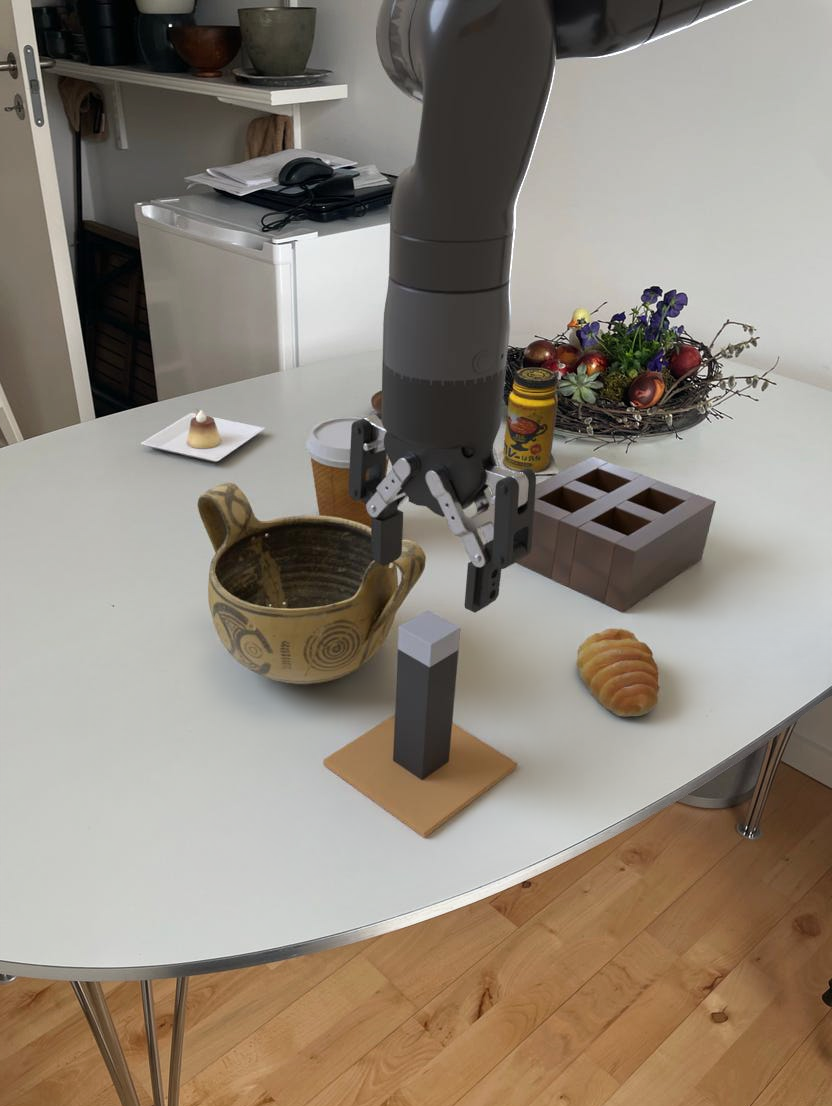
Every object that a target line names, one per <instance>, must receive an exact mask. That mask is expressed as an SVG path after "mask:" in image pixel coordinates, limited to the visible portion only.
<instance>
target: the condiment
mask: <svg viewBox="0 0 832 1106" xmlns="http://www.w3.org/2000/svg"><path fill="white" fill-rule="evenodd" d="M557 384H558V375H557V373H556V372H555V371H554V370H551V369H548V368H544V367H537V366H535V367H534V366H533V367H532V366H531V367H523V368H521V369H519V370H517V371H516V372H515V373H514V376H513V384H512V389H513V390H512V391H511V392H510V394H509V396H508V405H507V415H506V419H505V420H506V425H505V432H504V440H503V446H500V445H497V446H494V445H493V449H494V451H495V454H496V458H497V461H498V465H499V467H500V468H503V469H506V470H509V471H512V472H518V471H520V470H522V469H524V468H529V469H531V470H532V471H533V472H534V473H535V475H548V474H549V475H557V474H559V473H561V471H559V468H558V466H557V463H556V461H555V458H554V456H553V453H552V451H553V444H554V435H555V429H556V428H555V427H556V420H557V412H558V405H559V404H558V403H559V397H558V395H557V393H556V392H557V390H558V386H557Z"/></svg>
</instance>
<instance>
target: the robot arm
mask: <svg viewBox="0 0 832 1106" xmlns="http://www.w3.org/2000/svg"><path fill="white" fill-rule="evenodd" d="M750 1H752V0H382V1H381V4H380V7H379V10H378V15H377V19H376V27H375V40H376V41H375V43H376V48H377V53H378V57H379V60H380V63H381V66H382V68H383V70H384V72H385V74H386V75H387V77H388V79H389V80H390V81H391V82H392V84H393V85H394V86H395V87H396V88H397V89H398V90H399V91H401V92H402V93H403V94H404V95H406V96H407V97H408V98H410V99H411V100H414V101H415V102H417V103H419V104H422V106H421V107H422V109H421V117H420V124H419V131H418V132H419V133H418V139H417V147H416V154H415V161H414V164H411V165H410V166H408V167H407V168H405V169H404V170H403V171H402V172H401V173H400V174H399V175H398V177H397V178H396V180H395V182H394V186H393V190H392V195H391V201H390V202H391V203H390V212H389V249H388V250H389V252H388V253H389V254H388V257H389V258H388V279H387V280H388V281H387V291H386V295H385V296H386V297H385V303H384V309H383V319H382V320H383V321H382V367H381V370H382V371H381V372H382V373H381V391H382V407H381V412H379V413H378V412H376V413H373V414H371V415H368V416H365V417H361V418H362V419H361V420H358V421H355V422H353V424H352V427H351V447H350V468H349V488H348V491H349V495H350V497H351V498H352V499H353V500H354V501H358V500H361V501H363V502H364V503H365V504H366V509H367V512H368V514H369V515H370V516H371V533H372V534H371V538H372V539H371V548H372V551H373V553H374V561H375V562H376V563H378V564H380V565H382V566H385V565H387V564H389V563H391V562H393V561H395V560H397V559H398V558H399V557H400V556H401V553H402V540H403V532H404V531H403V529H404V511H403V510H400V509H399V507H401V505H403V504H404V503H405V501H406V500H407V499H408V502H409V503H411V504H413V505H416V506H421V507H425V508H427V509H428V510H429V511H431V512H432V513H434V514H435V515H437V516H440V517H442V518H445V520H446V522H447V525H448V527H449V529H450V531H451V533H452V535H453V536H454V537H457V538H460V539H461V542H462V544H463V547H464V549H465V551H466V553H467V555H468V557H469V560H470V561H469V562H468V563H467V569H466V570H467V571H466V581H465V583H466V584H465V592H464V594H465V596H464V608H465V609H466V610H468V611H470V612H472V613H478V612H479V611H481V610H483V609H485V608H486V607H488V606H489V605H491V604H493V602H495V601H496V600H497V599H498V597H499V595H500V587H501V579H502V578H501V577H502V570H504V569H506V568H508V567H510V566H512V565H513V564H516V562H517V561H519V560H521V559H522V558H524V557H526V556H528V555H529V554H530V553H531V549H532V534H533V519H534V505H535V490H536V485H537V476H536V475H537V474H535V473H534V472H533V471H532V470H531V469H529V468H524V469H522V470H520V471H518V472H512V471H509V470H506V469H503V468H500V466H498V465H497V461H496V458H495V456H494V454H495V453H494V445H495V444H494V443H495V441H496V438H497V435H498V433H499V431H500V428H501V425H502V417H503V416H502V414H503V405H504V395H505V386H506V385H505V384H506V374H507V364H508V363H507V362H508V351H509V343H510V330H511V320H512V319H511V318H512V317H511V316H512V314H511V311H512V310H511V277H512V276H511V275H512V264H513V256H514V255H513V254H514V245H515V233H516V215H517V202H518V198H519V195H520V193H521V189H522V187H523V184H524V181H525V178H526V176H527V173H528V170H529V168H530V165H531V161H532V157H533V154H534V151H535V148H536V144H537V141H538V137H539V133H540V130H541V128H542V125H543V124H542V123H543V121H544V117H545V113H546V110H547V107H548V103H549V99H550V95H551V91H552V87H553V82H554V76H555V71H556V62H557V61H561V60H568V59H595V58H596V59H597V58H603V57H609V56H615V55H617V54H621V53H624V52H628V51H630V50H633V49H636V48H637V47H640V46H643V45H646V44H648V43H651V42H653V41H657V40H658V39H661V38H664V37H666V36H669V35H671V34H674V33H676V32H679V31H681V30H684V29H687V28H689V27H692V26H694V25H696V24H698V23H701V22H703V21H706V20H708V19H710V18H713V17H716V16H718V15H720V14H722V13H725V12H727V11H729V10H732V9H734V8H736V7H739V6H741V5H744V4H746V3H749V2H750ZM387 455H388V457H389V463H390V464H391V466H392V467H391V470H390V471H389V472H387V474H386V477H385V469H386V456H387ZM368 469H369V473H368V478H367V479H366V472H367V470H368ZM473 503H474V505H475V507H476V513H475V514H474V515H473V516H470V517H468V516H467V515H466V513H465V511H464V510H466V509H468V508H469V507H470V506H472V505H473ZM479 529H480V530H481V533H482V535H483V538H484V539H485V542H486V543H484V542H483V539H482V537H481V535H480V532H479Z"/></svg>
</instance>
